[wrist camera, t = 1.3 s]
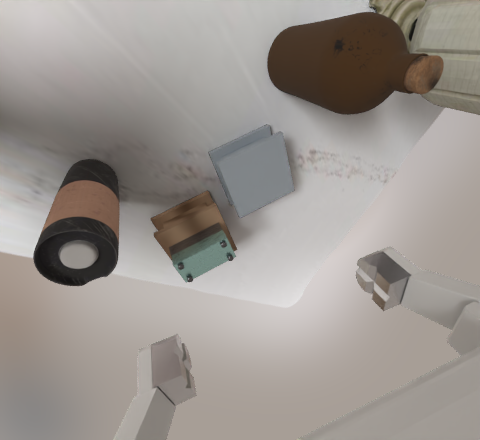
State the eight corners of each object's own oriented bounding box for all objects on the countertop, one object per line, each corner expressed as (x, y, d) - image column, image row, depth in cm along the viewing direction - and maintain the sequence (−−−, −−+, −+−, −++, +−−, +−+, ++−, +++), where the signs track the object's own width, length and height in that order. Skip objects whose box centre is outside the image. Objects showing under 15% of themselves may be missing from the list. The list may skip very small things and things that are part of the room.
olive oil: (263, 99, 45) (371, 142, 26) (263, 23, 39) (404, 3, 20) (316, 92, 48) (448, 125, 28) (323, 19, 42) (499, -2, 22)
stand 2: (229, 203, 54) (240, 218, 49) (208, 152, 46) (218, 164, 42) (279, 178, 55) (294, 190, 51) (267, 124, 48) (282, 133, 43)
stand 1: (178, 258, 57) (184, 277, 52) (150, 218, 49) (154, 236, 45) (227, 233, 58) (237, 249, 53) (207, 190, 51) (216, 205, 46)
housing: (181, 264, 50) (186, 285, 46) (168, 247, 47) (173, 267, 43) (227, 240, 51) (237, 258, 47) (218, 222, 48) (228, 239, 44)
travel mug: (75, 148, 39) (46, 218, 23) (127, 170, 43) (131, 241, 28) (58, 190, 41) (20, 279, 26) (108, 207, 45) (103, 292, 30)
